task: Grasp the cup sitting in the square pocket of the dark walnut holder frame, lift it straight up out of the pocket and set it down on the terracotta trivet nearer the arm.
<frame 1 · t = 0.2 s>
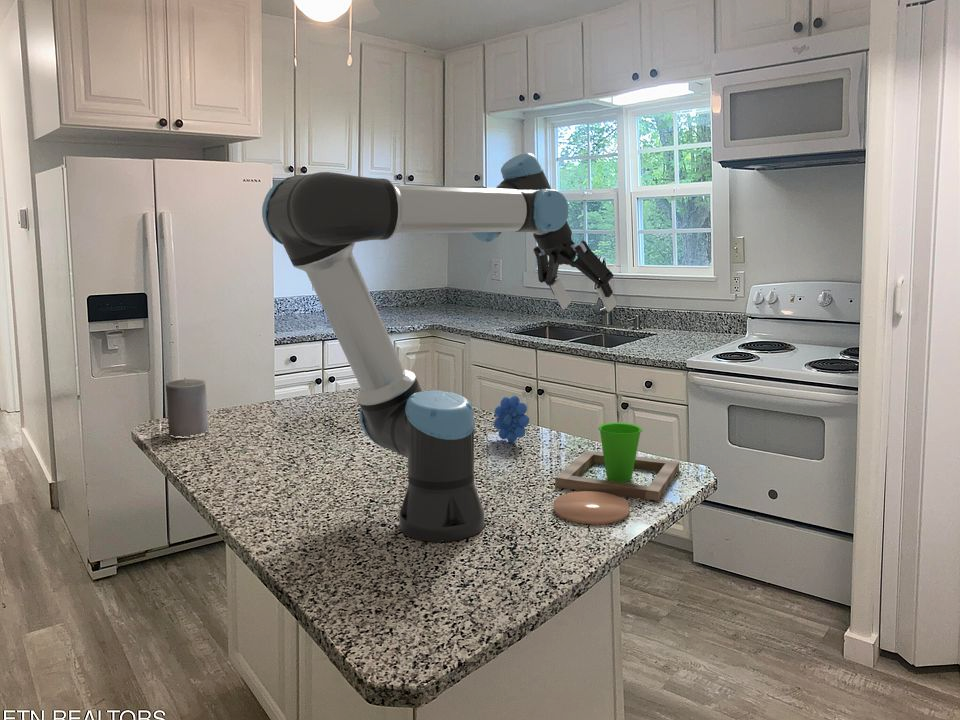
hand: (588, 306, 168), 35 cm above the countertop, tool tilted 35°, fingers open, 13 cm apart
holder frame: (619, 478, 161), on the countertop
pillar candle: (189, 435, 198), on the countertop
grapes: (514, 442, 189), on the countertop
cup: (619, 479, 161), resting in holder frame
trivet: (591, 510, 143), on the countertop
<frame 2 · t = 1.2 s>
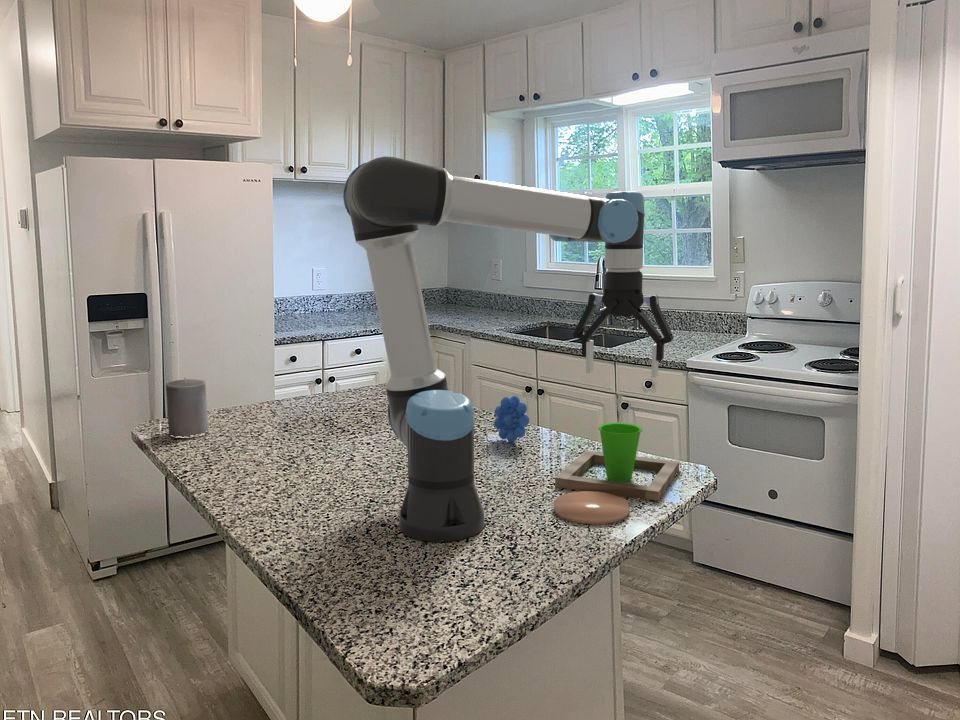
hand: (621, 374, 157), 22 cm above the countertop, tool pointing down, fingers open, 13 cm apart
nothing on the countertop moved.
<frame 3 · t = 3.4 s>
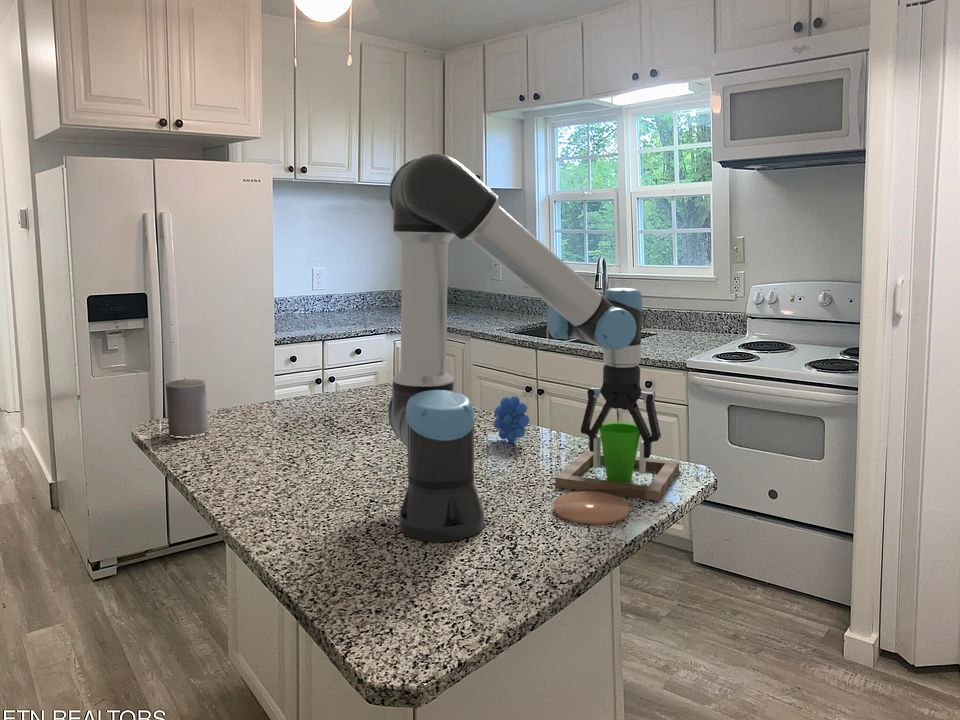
hand: (619, 469, 160), 2 cm above the countertop, tool pointing down, fingers closed on cup, 9 cm apart
cup: (619, 479, 161), resting in holder frame, touching gripper
everything else where it was.
when the fingers open (5 cm above the countertop, at t = 10.6 s): cup drops 1 cm, resting on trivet.
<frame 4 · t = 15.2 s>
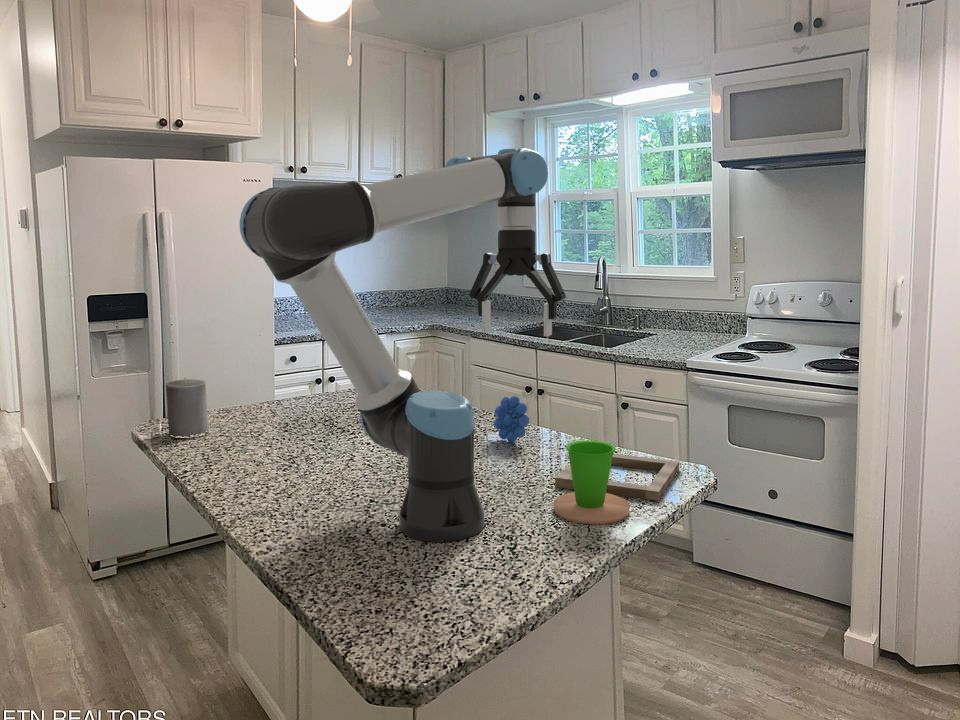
hand: (516, 334, 157), 31 cm above the countertop, tool pointing down, fingers open, 13 cm apart
cup: (589, 504, 143), point 1 cm above the countertop, touching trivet
everything else where it was.
at the end: cup inside the target area on the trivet (0.2 cm from its centre), point 1.0 cm above the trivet's base; cup tilted 0°; cup touching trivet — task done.
